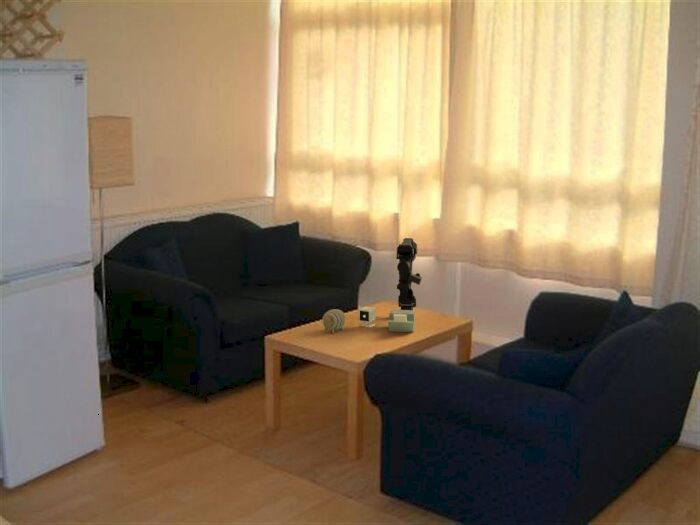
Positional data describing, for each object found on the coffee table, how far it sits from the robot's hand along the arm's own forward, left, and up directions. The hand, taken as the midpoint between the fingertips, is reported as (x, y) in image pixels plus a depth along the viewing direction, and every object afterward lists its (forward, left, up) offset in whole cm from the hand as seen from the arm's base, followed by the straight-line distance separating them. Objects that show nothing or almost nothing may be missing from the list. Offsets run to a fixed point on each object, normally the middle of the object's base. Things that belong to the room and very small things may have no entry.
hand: (404, 299), depth 415 cm
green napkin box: (+9, +6, -13) cm, 17 cm away
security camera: (+16, -10, -13) cm, 23 cm away
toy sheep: (+32, -17, -13) cm, 39 cm away
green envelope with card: (+13, +9, -12) cm, 20 cm away
